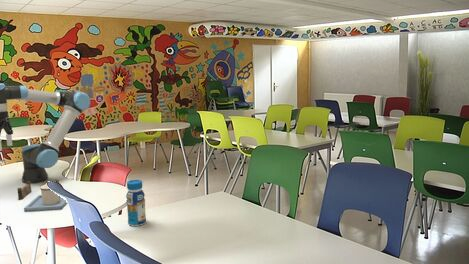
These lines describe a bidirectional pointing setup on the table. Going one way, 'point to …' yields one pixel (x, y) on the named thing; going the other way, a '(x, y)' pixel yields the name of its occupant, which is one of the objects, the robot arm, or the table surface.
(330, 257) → the table surface
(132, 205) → the beverage bottle
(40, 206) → the tray
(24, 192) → the walnut rack
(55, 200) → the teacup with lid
